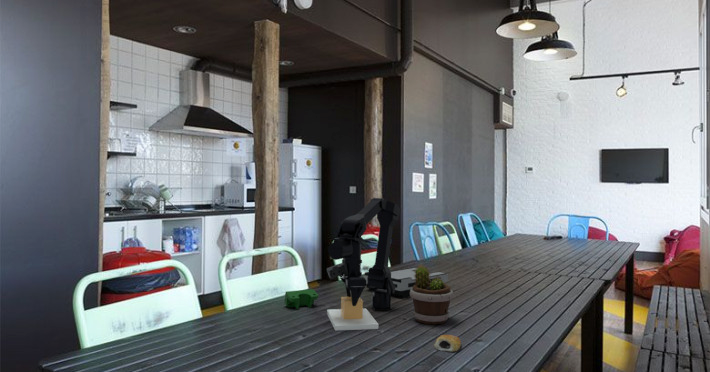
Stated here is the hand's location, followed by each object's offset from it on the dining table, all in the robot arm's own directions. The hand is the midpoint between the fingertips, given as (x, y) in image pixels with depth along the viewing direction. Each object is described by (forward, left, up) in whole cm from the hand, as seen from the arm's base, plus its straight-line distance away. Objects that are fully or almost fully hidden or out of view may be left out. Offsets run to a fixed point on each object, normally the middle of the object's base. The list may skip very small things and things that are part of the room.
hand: (351, 302), depth 168 cm
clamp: (+15, -21, -7) cm, 27 cm away
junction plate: (0, 0, -6) cm, 6 cm away
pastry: (-23, +30, -7) cm, 38 cm away
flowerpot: (-27, +3, -6) cm, 28 cm away
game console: (-33, -46, -7) cm, 57 cm away
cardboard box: (0, 0, -5) cm, 5 cm away
